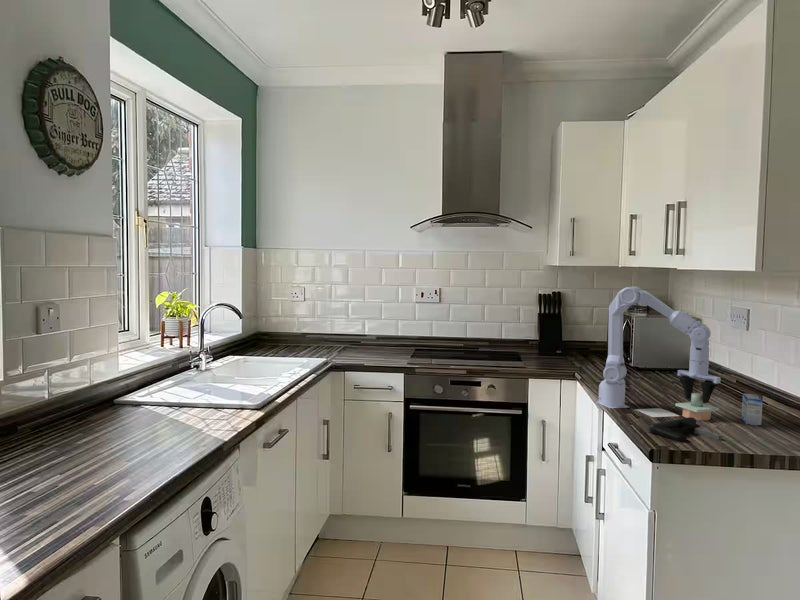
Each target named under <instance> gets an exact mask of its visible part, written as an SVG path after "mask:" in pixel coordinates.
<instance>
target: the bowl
mask: <svg viewBox="0 0 800 600" xmlns="http://www.w3.org/2000/svg"><path fill="white" fill-rule="evenodd" d="M711 415H712V411H707V412H694V411H691V410H688V409H685V408H682V415H681V416H682V417H684V418H688V417H691V418H695V419H696V421H710V419H711V418H712V417H711Z"/></svg>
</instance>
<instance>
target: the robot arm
mask: <svg viewBox="0 0 800 600" xmlns="http://www.w3.org/2000/svg"><path fill="white" fill-rule="evenodd" d="M636 304H637V305H641V306H648V307H650V308H651V309H652V310H655V311H656V312H658V313H660V314H661V315H662V316H664V317H666V318H667V319H668V320H669V325H671V326H673V327H674V328H676V329H677V330H679V332H682V333H683V334H684V335H687V336H689V339H690V346H689V360H688V361H689V362H688V363H689V364H688V365H689V367H688V370H687V369H686V370H685V369H678V370H677V374H676V375H677V376H678V377H679V381H680V383H681V385H682V388H683V391H684V395H685V399H686V400H691V393H694V391H693V389H694V384H695V381H696V380H700V381H701V382H700V385H701V391H702V394H703V397H702V400H703V404H709V403H710V399H711V397H712V393H713V392H714V390H715V389H716V388H717V386H718V384H721V379H722V378H721V377H720V376H717V375H713V374H709V365H710V364H709V363H710V347H709V346H710V337H711V329H710V328H709V327H708V326H707V325H706V324H704V323H702V322H701V321H700V320H699V319H698V320H696V319H694V318H693V317H692V316H690V315H689V312H688V311H686V310H684V311H683V310H674V309H673V308H671V307H670V306H668V305H667V304H666V303H665V302H663V301H661V300H660V299H659V298H657V297H656V296H655V295H653V294H652V293H649V291H646V290H644V289H643V290H642V288H641V287H639V286H636V285H634V286H633V285H632V286H626V287H624V288H623V289H621V290H619V291H618V292H617V293H616V296H615V297H614V299H613V300H612V301H611V303H610V304H609V306H608V324H607V325H608V326H607V327H608V328H607V329H608V336H607V337H608V339H607V349H608V350H607V358H606V362H605V367H604V369H603V371H602V376H603V378H604V379H603V380H602V381H601V382H600V383H599V385H598V401H596V403H597V404H600V405H602V406H604V407H606V408H608V409H622V408H623V409H624V408H625V409H626V408H630V406H628V405H627V404H626V403H625V401H626V396H625V395H626V380H625V377H626V375H627V372H628V371H627V367H626V365H625V359H624V312H626V311H627V310H628V309H630V308H631V306H632V307H633V306H634V305H636Z"/></svg>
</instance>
